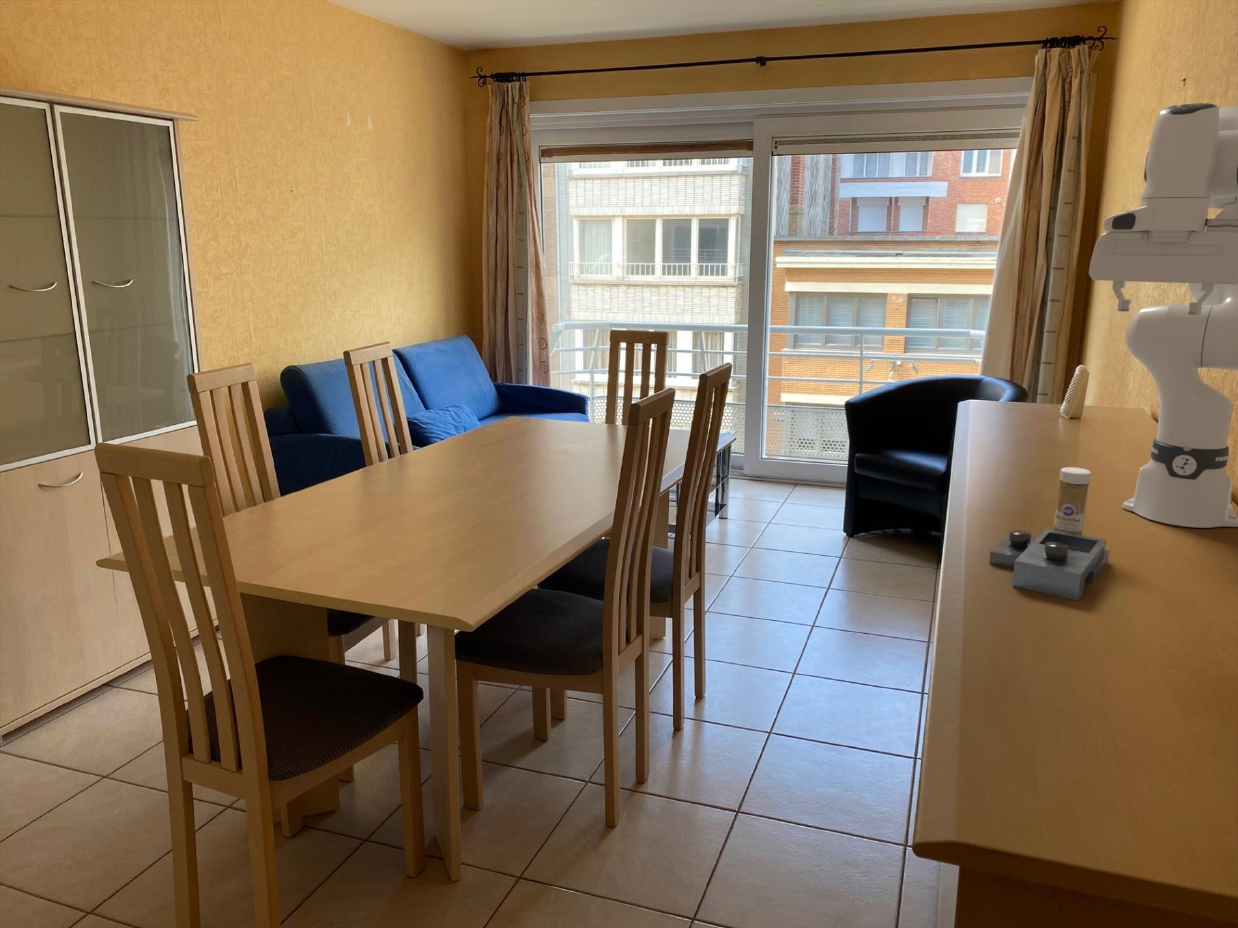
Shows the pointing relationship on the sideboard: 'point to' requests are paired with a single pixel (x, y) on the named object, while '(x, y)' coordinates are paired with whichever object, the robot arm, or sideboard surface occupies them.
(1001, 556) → the grey knobbed tray
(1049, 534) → the grey box with knob
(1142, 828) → the sideboard surface
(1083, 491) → the sprinkles bottle
